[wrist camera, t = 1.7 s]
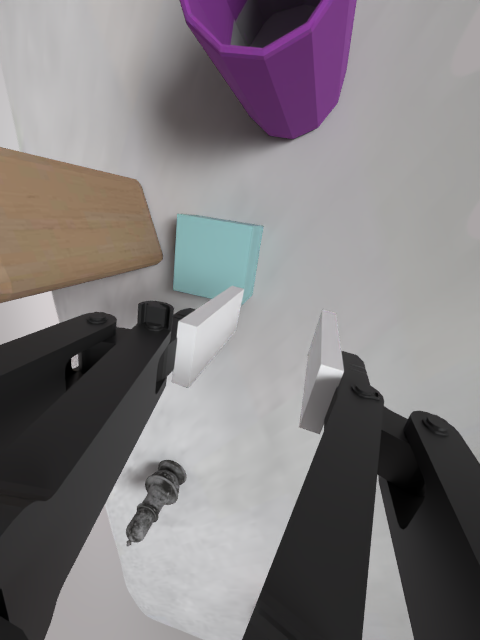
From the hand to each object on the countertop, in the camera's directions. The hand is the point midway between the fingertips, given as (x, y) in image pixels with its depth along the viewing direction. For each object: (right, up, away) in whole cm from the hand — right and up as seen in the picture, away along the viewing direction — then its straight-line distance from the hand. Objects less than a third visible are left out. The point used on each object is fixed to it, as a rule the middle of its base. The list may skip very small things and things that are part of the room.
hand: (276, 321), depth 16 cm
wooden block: (-17, +12, +20) cm, 29 cm away
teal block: (-4, +8, +17) cm, 19 cm away
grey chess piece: (-14, -26, +32) cm, 43 cm away
